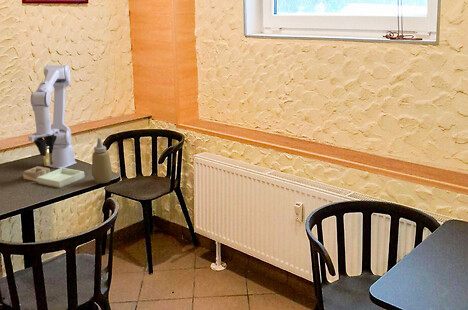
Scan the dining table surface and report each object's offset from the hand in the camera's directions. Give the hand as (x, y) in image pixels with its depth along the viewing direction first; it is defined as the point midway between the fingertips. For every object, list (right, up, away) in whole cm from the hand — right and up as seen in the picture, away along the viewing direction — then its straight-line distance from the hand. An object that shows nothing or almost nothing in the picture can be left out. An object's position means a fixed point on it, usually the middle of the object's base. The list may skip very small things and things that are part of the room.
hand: (46, 154), depth 225 cm
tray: (+6, -11, +1) cm, 12 cm away
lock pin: (0, -4, +1) cm, 4 cm away
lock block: (-6, -9, +5) cm, 12 cm away
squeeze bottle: (+23, -11, 0) cm, 25 cm away
